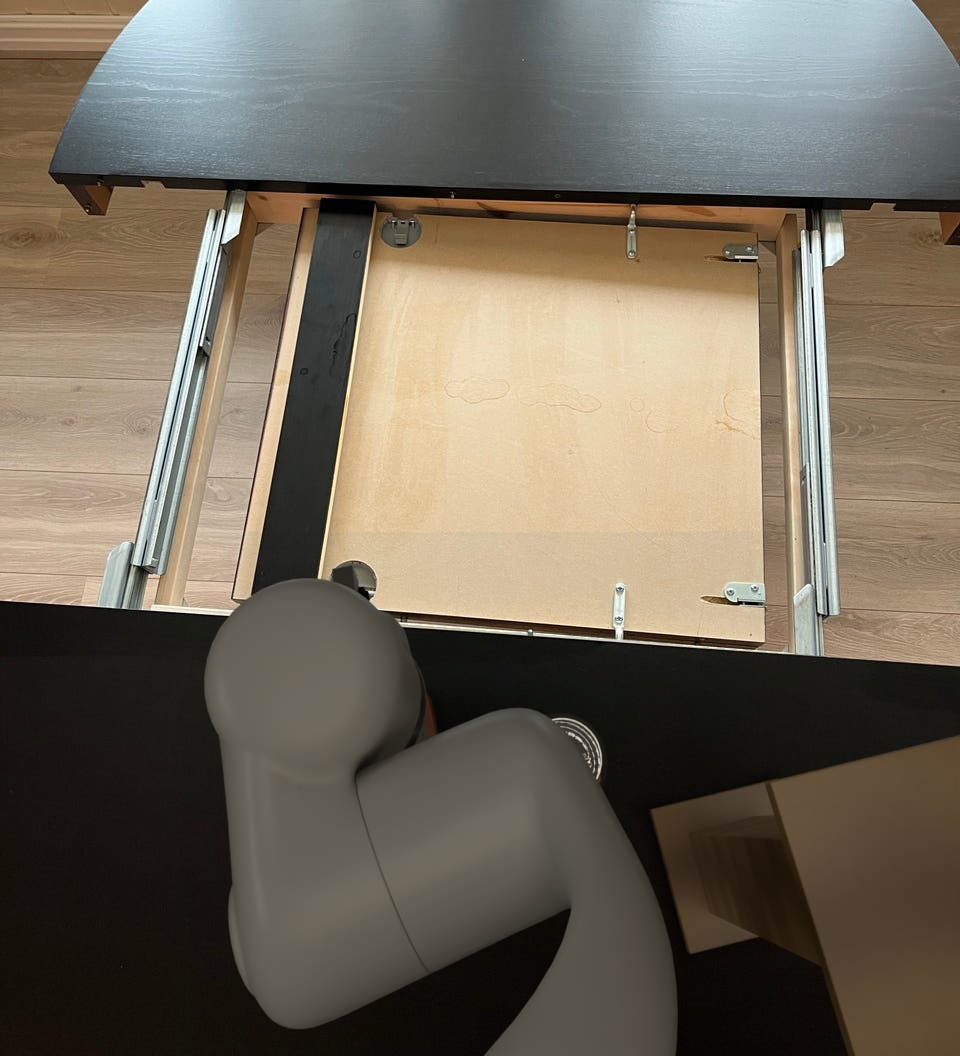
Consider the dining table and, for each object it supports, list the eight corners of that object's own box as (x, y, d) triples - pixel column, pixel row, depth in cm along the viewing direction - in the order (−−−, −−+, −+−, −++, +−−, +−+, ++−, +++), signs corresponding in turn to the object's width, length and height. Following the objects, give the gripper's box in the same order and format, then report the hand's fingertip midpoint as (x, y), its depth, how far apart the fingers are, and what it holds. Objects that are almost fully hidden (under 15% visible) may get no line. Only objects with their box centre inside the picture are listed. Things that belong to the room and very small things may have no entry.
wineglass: (502, 743, 74) (499, 729, 63) (578, 712, 75) (588, 693, 64) (533, 825, 72) (535, 826, 61) (610, 793, 73) (627, 788, 62)
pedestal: (829, 925, 69) (1203, 1051, 31) (681, 962, 69) (879, 1136, 31) (780, 769, 73) (1062, 710, 35) (639, 803, 73) (769, 781, 34)
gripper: (462, 877, 47) (475, 858, 63) (388, 511, 53) (417, 579, 69) (297, 917, 47) (352, 888, 63) (240, 545, 53) (304, 605, 69)
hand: (386, 726), depth 66 cm, fingers open, 9 cm apart
